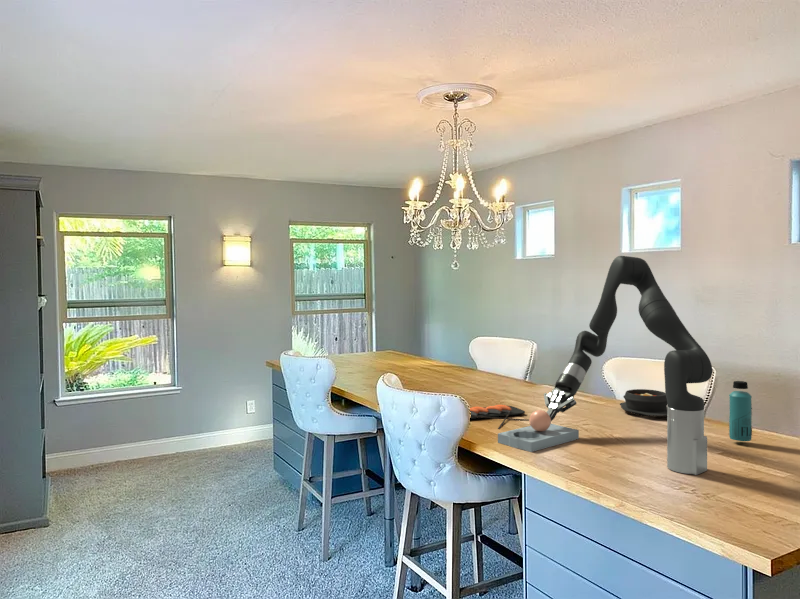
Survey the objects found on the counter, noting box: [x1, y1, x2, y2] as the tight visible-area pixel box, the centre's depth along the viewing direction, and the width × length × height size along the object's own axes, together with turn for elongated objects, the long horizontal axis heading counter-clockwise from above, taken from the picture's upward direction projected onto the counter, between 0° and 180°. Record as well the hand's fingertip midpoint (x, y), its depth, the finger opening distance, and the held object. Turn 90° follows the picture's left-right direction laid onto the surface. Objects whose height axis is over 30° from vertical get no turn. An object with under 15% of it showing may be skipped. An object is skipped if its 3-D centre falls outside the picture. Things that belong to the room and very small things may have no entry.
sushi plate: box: [469, 404, 529, 430], centre depth 227 cm, size 29×30×4 cm
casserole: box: [619, 388, 667, 417], centre depth 234 cm, size 25×19×8 cm
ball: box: [528, 409, 552, 432], centre depth 196 cm, size 7×7×7 cm
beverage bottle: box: [728, 380, 753, 442], centre depth 189 cm, size 6×7×20 cm
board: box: [497, 423, 580, 453], centre depth 195 cm, size 14×24×3 cm, turn 127°
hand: (548, 419), depth 198 cm, fingers closed
